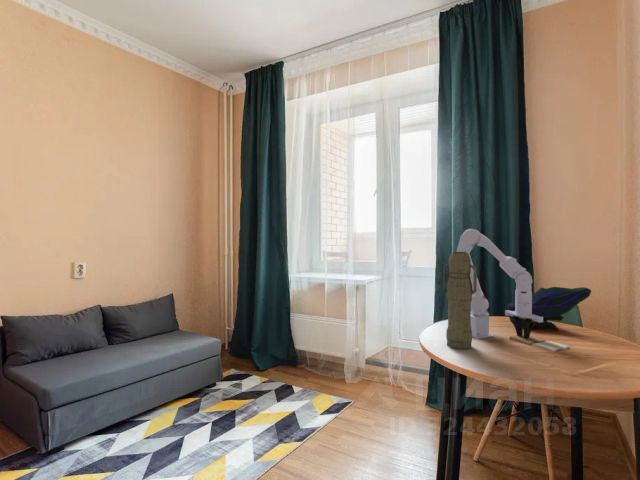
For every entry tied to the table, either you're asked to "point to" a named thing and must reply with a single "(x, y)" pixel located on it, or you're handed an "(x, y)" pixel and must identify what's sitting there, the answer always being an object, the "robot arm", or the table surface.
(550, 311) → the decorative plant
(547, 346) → the laid board
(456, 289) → the thermos
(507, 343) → the table surface
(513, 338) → the plank
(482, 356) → the table surface
